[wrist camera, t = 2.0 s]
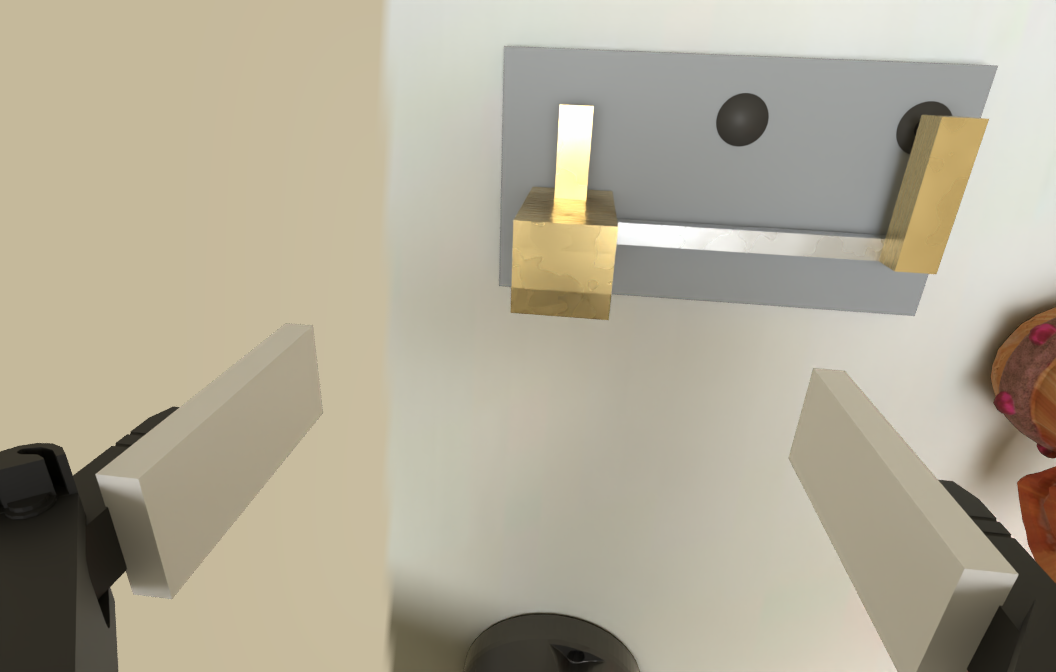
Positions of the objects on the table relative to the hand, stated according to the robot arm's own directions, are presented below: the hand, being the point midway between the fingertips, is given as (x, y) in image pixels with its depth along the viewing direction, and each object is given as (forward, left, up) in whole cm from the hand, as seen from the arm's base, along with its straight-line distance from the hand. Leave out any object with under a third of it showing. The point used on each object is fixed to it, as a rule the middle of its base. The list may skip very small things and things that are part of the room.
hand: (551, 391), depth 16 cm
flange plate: (+8, -2, -21) cm, 22 cm away
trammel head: (+1, +2, -19) cm, 19 cm away
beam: (+8, -1, -20) cm, 21 cm away
